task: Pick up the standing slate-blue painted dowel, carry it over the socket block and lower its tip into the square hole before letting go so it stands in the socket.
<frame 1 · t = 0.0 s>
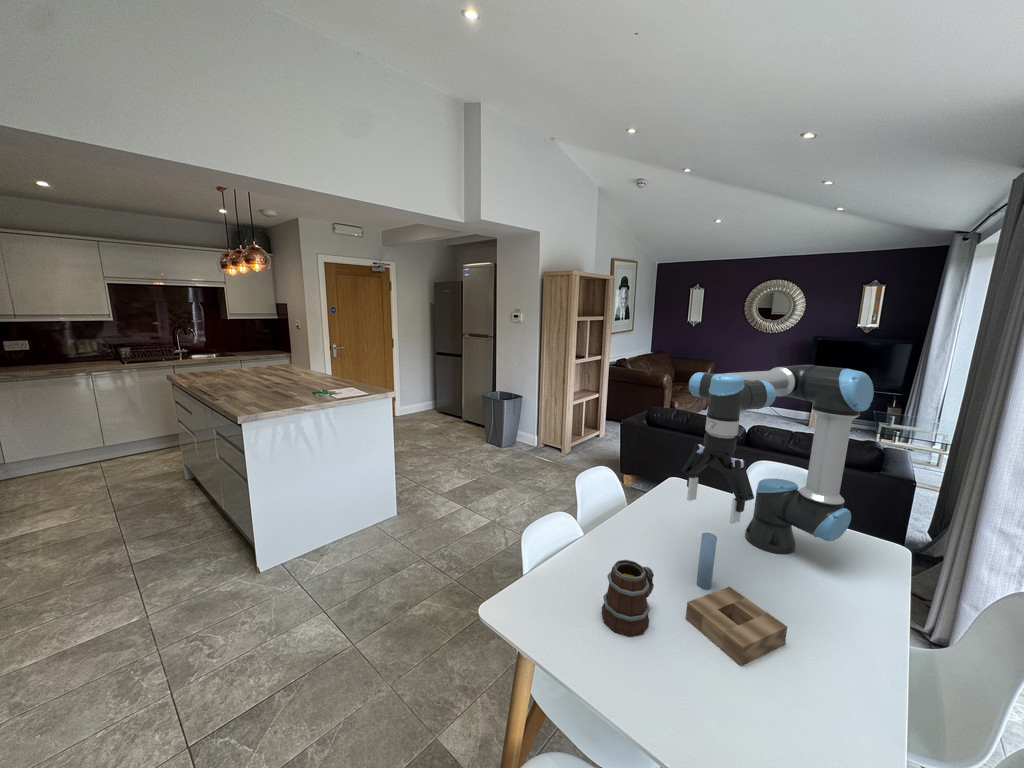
hand: (711, 510, 110), 28 cm above the table, fingers open, 13 cm apart
socket block: (733, 631, 104), on the table
peg: (703, 585, 122), on the table
mug: (630, 617, 109), on the table
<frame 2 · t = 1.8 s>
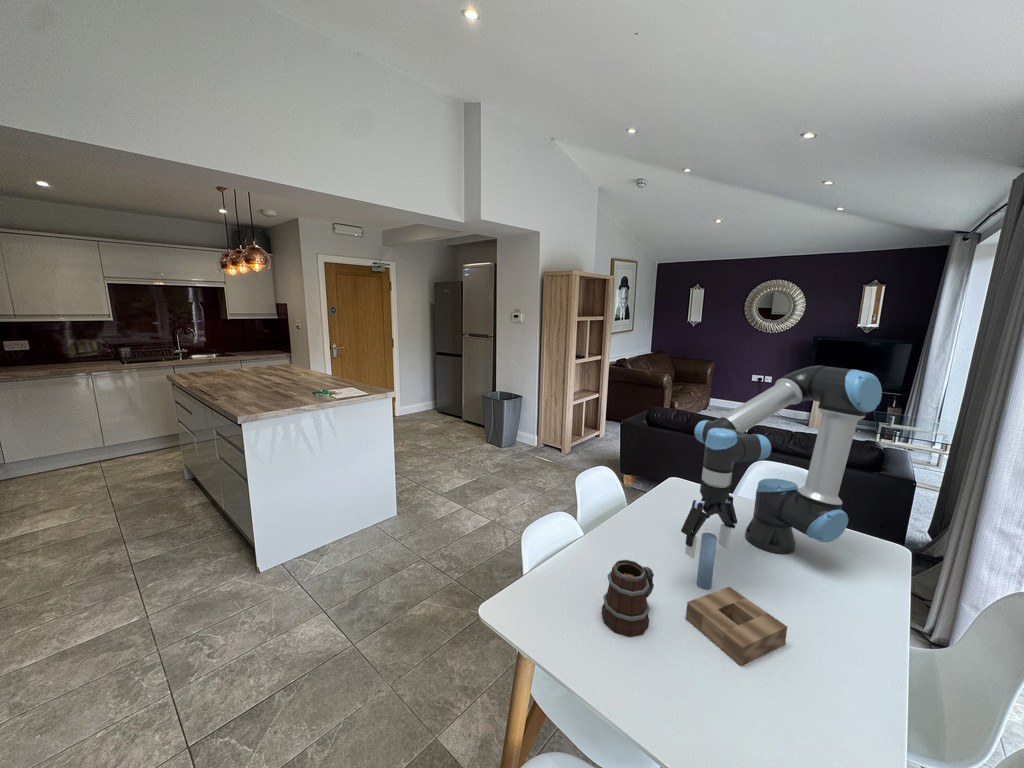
hand: (706, 550, 120), 11 cm above the table, fingers open, 13 cm apart
nothing on the table moved.
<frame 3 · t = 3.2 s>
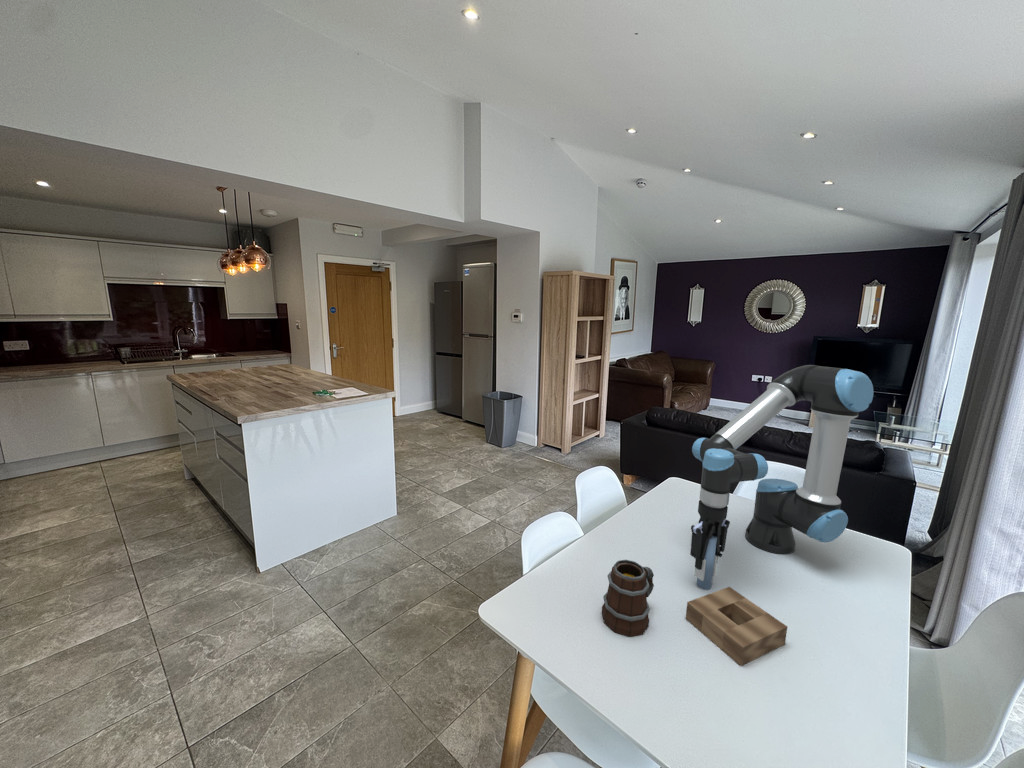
hand: (704, 575, 122), 3 cm above the table, fingers closed on peg, 4 cm apart
peg: (703, 585, 122), on the table, touching gripper
everything else where it was.
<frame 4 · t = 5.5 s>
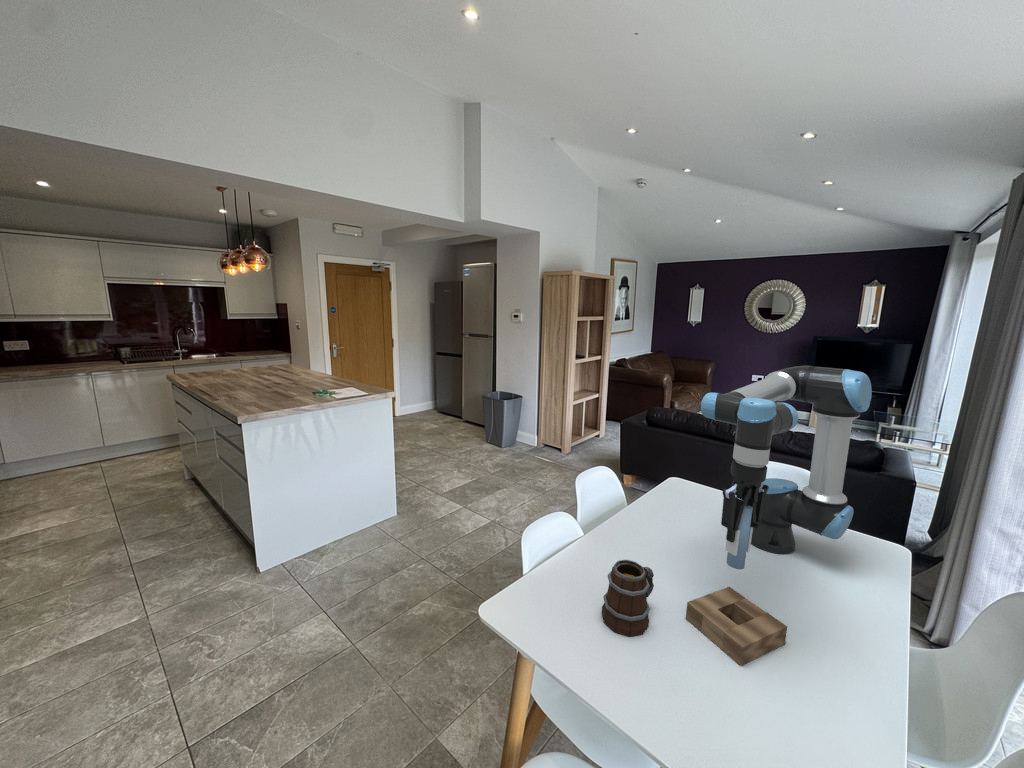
hand: (737, 550, 103), 21 cm above the table, fingers closed on peg, 4 cm apart
peg: (735, 564, 103), point 17 cm above the table, touching gripper
everything else where it was.
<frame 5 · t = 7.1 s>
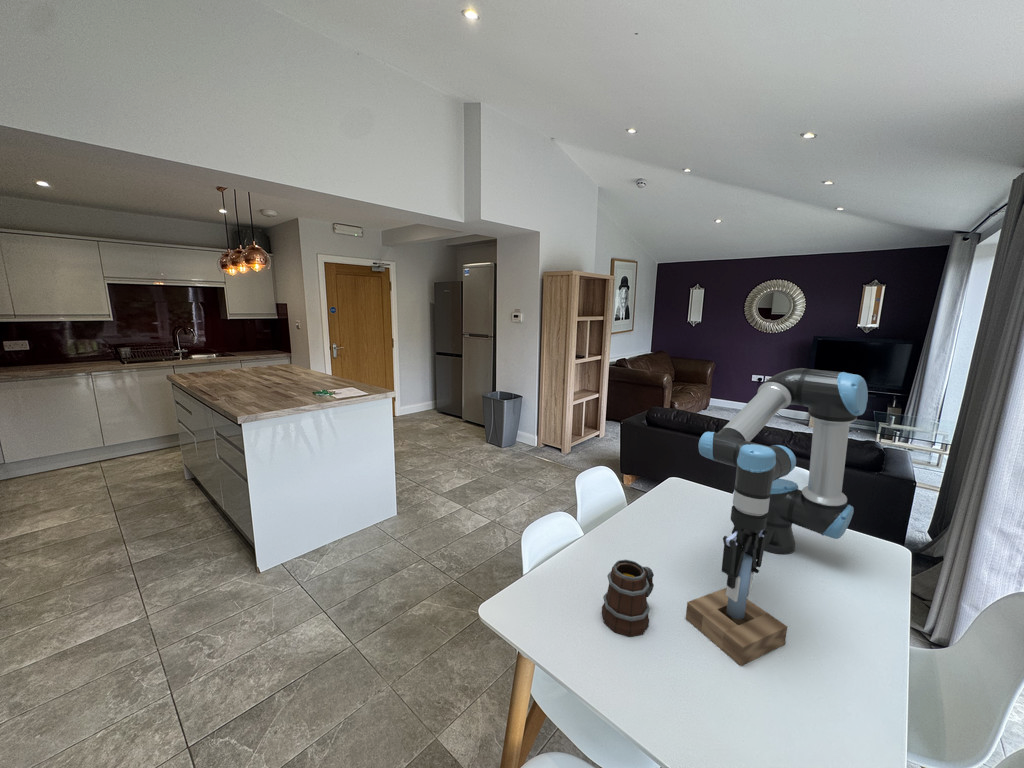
hand: (737, 595, 103), 10 cm above the table, fingers closed on peg, 4 cm apart
peg: (735, 613, 104), point 5 cm above the table, touching gripper
everything else where it was.
when the fingers open (7 cm above the table, at t = 8.0 s): peg drops 1 cm, resting in socket block.
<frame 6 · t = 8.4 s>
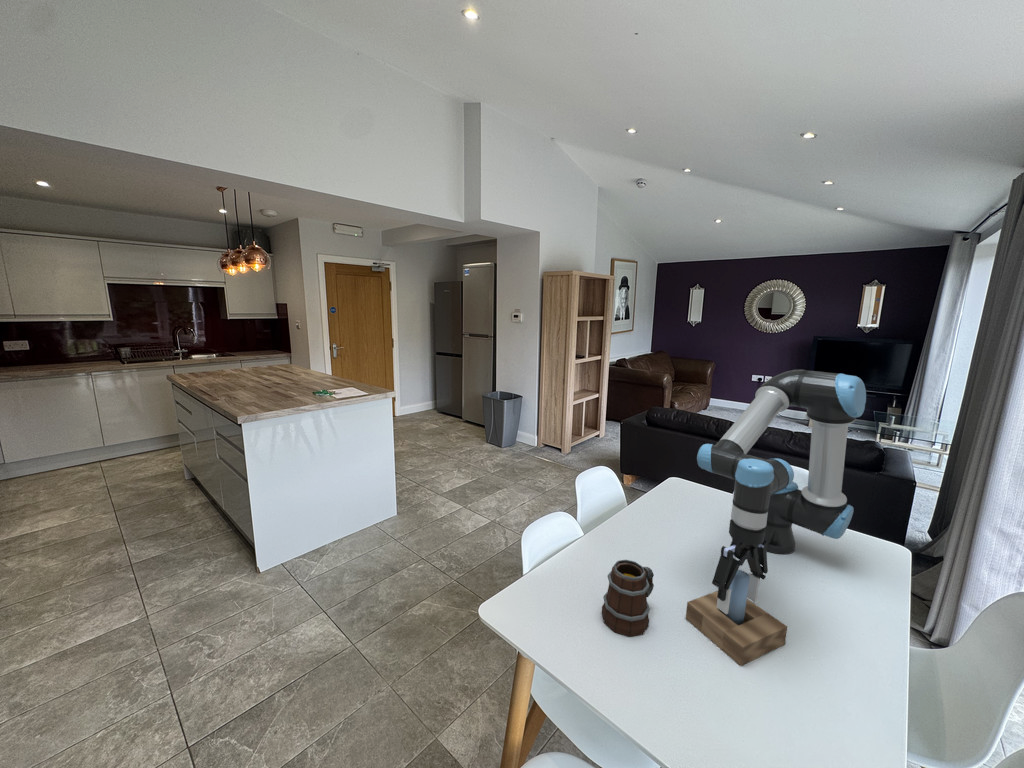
hand: (736, 604, 103), 8 cm above the table, fingers open, 10 cm apart
peg: (733, 631, 104), resting in socket block
everything else where it was.
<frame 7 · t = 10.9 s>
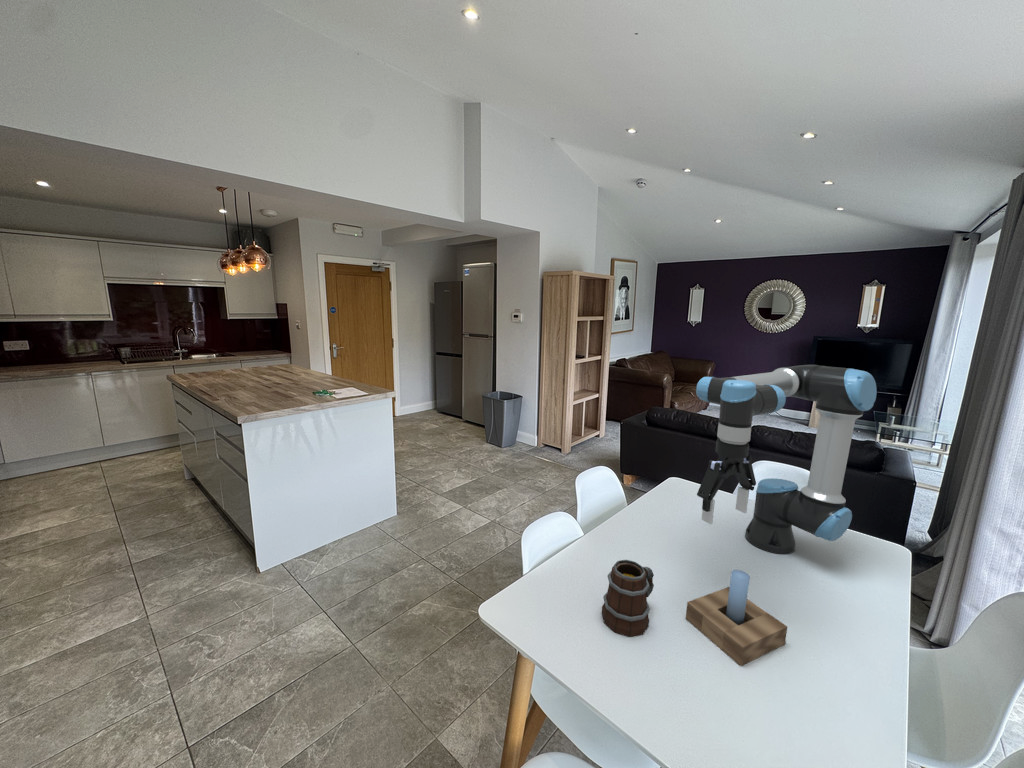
hand: (724, 516, 109), 27 cm above the table, fingers open, 13 cm apart
nothing on the table moved.
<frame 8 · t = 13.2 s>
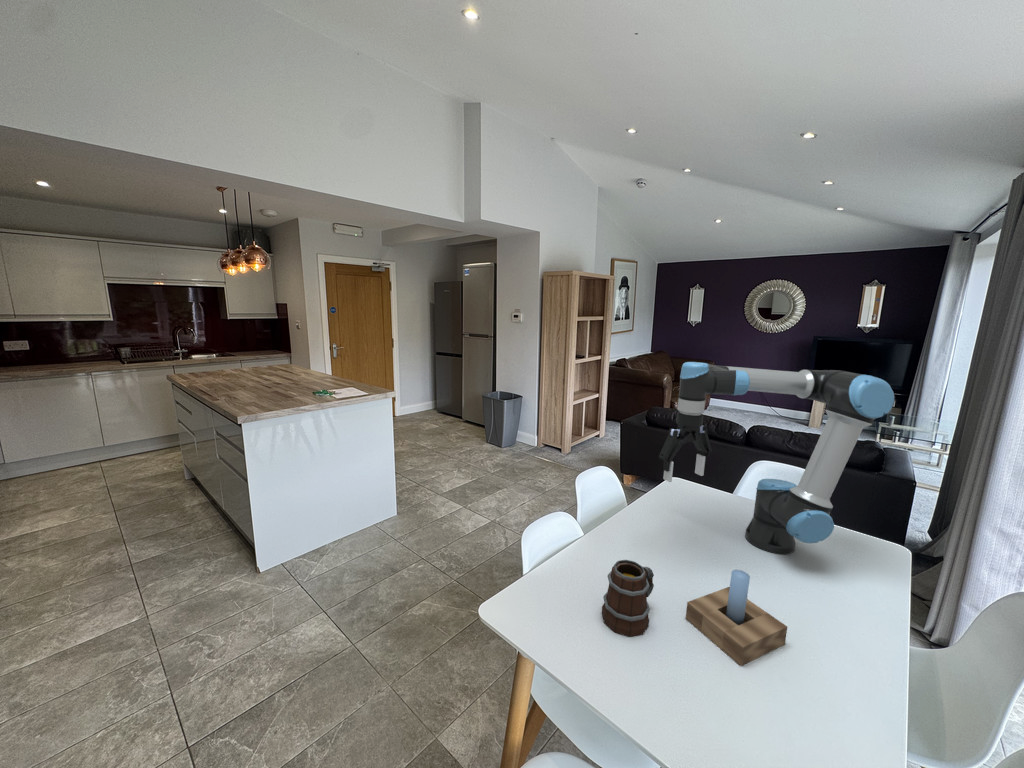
hand: (683, 477, 130), 29 cm above the table, fingers open, 13 cm apart
nothing on the table moved.
at the end: peg 0.0 cm off-centre on the socket block, point 0.0 cm above the socket block's base; peg tilted 0°; the gripper is holding nothing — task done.
